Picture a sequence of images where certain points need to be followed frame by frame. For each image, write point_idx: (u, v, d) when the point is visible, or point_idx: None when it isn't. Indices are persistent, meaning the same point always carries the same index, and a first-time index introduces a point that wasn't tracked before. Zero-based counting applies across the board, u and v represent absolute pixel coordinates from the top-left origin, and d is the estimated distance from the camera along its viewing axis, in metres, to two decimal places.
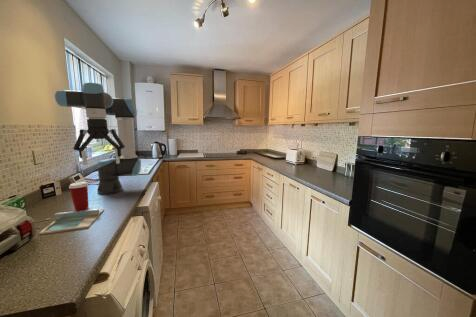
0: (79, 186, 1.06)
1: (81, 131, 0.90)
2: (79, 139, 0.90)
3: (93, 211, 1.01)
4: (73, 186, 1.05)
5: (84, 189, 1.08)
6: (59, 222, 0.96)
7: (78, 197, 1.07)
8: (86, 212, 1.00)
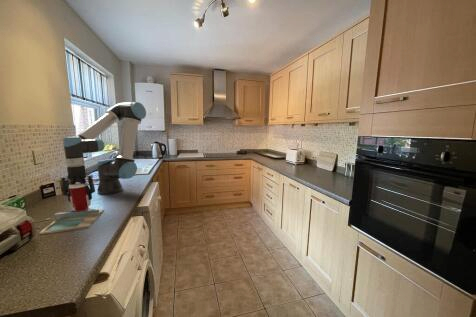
0: (79, 186, 1.06)
1: (63, 179, 1.05)
2: (64, 186, 1.06)
3: (93, 211, 1.01)
4: (73, 186, 1.05)
5: (84, 189, 1.08)
6: (59, 222, 0.96)
7: (78, 197, 1.07)
8: (86, 212, 1.00)
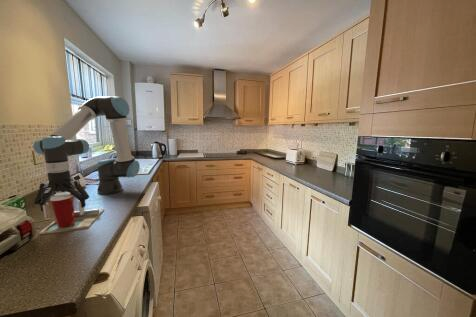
0: (62, 198, 0.88)
1: (41, 185, 0.87)
2: (40, 193, 0.88)
3: (93, 211, 1.01)
4: (55, 198, 0.87)
5: (68, 201, 0.91)
6: None
7: (62, 211, 0.89)
8: (86, 212, 1.00)
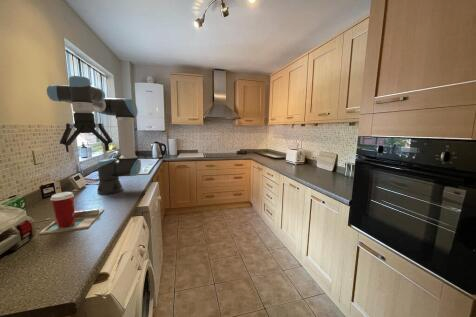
0: (63, 198, 0.89)
1: (67, 125, 0.89)
2: (65, 133, 0.89)
3: (93, 211, 1.01)
4: (55, 198, 0.88)
5: (69, 201, 0.91)
6: None
7: (62, 211, 0.89)
8: (86, 212, 1.00)
